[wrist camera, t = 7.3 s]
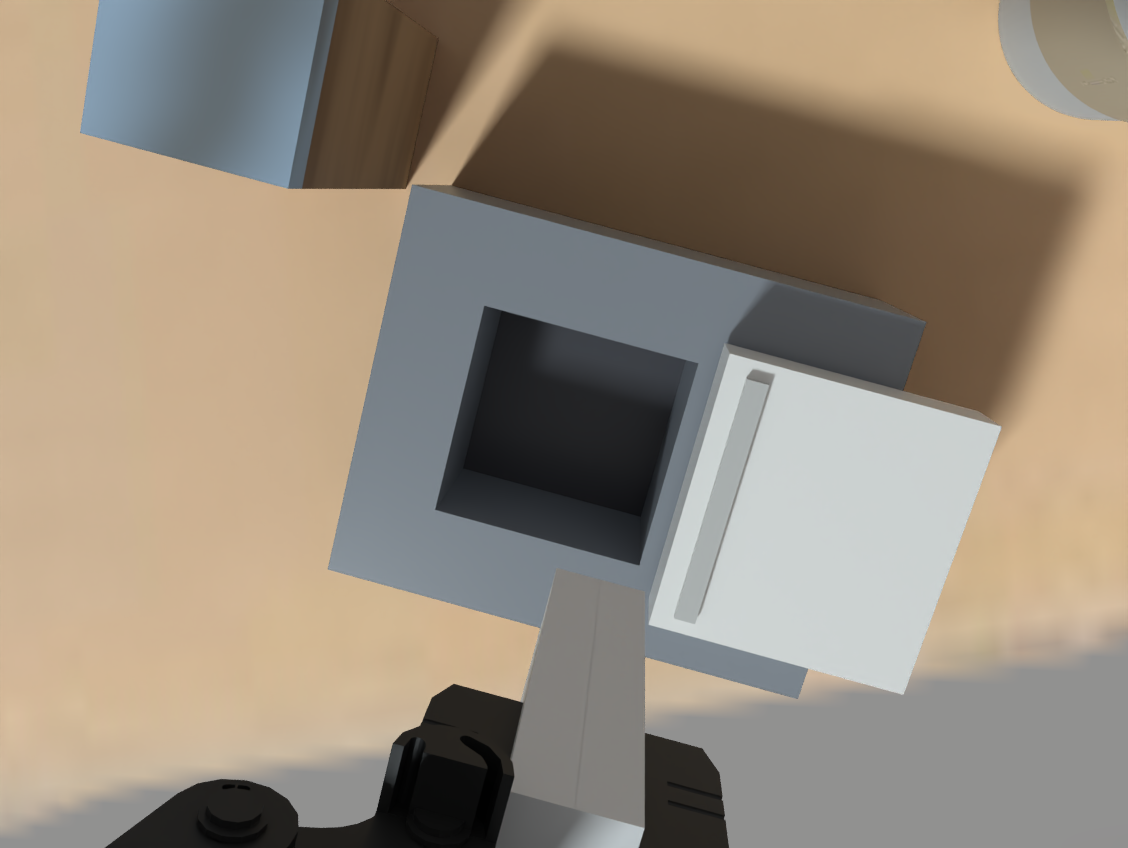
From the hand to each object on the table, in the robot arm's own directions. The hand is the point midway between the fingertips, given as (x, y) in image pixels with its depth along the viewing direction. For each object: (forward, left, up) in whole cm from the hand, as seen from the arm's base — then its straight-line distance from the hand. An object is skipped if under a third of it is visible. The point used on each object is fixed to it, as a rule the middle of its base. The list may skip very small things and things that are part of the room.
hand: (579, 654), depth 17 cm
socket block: (0, 0, -20) cm, 20 cm away
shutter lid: (+6, 0, -14) cm, 15 cm away
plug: (-11, +8, -20) cm, 24 cm away
